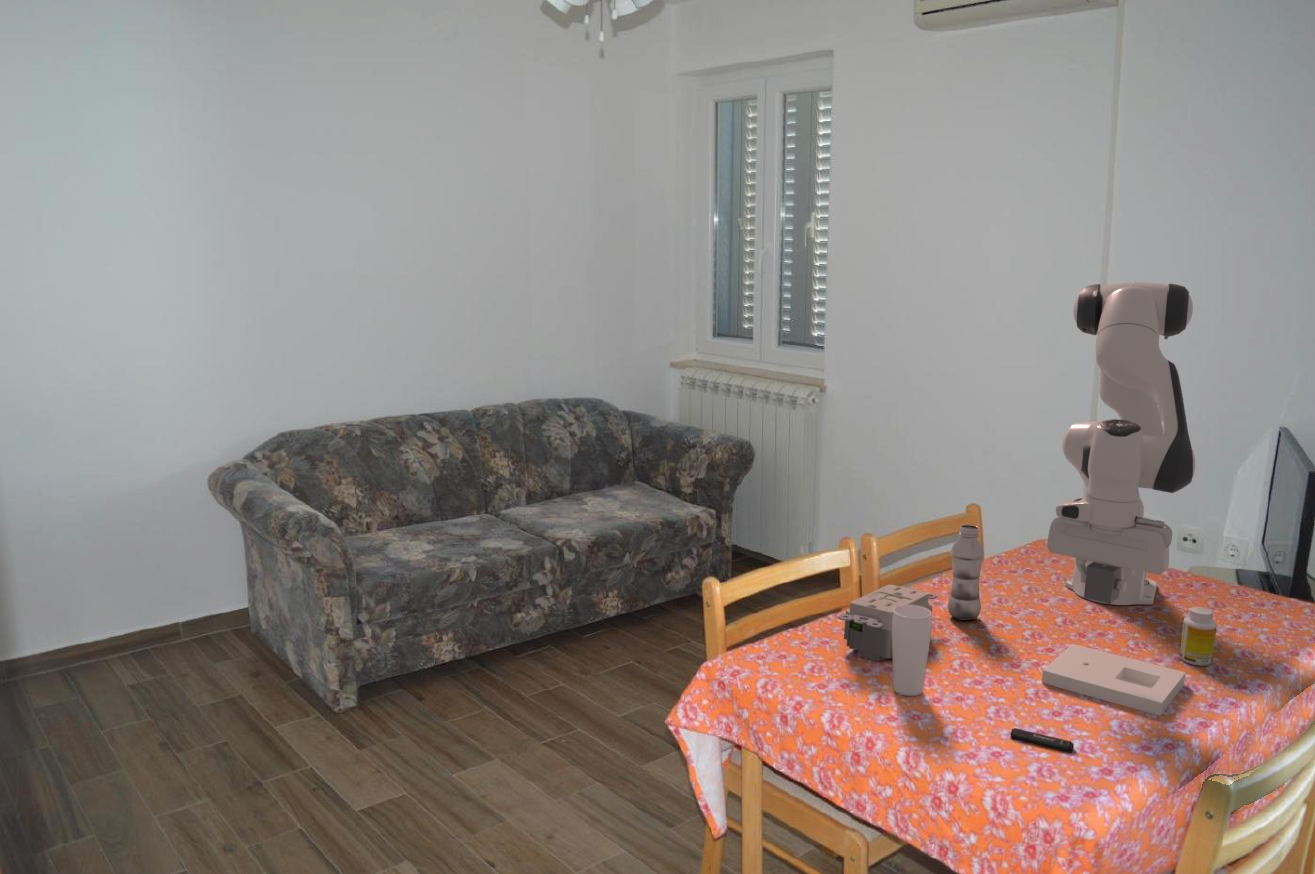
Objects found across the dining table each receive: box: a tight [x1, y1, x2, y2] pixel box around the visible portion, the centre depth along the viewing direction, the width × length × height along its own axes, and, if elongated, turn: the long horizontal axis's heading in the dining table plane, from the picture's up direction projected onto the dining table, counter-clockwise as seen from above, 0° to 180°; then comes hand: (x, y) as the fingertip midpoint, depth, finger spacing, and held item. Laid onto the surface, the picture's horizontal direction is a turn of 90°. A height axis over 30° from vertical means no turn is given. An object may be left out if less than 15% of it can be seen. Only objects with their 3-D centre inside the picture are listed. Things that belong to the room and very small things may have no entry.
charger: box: [1083, 562, 1122, 605], centre depth 183 cm, size 5×5×6 cm
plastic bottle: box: [947, 524, 985, 621], centre depth 214 cm, size 6×7×20 cm
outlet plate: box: [1041, 643, 1187, 717], centre depth 184 cm, size 16×20×2 cm
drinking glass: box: [891, 605, 933, 697], centre depth 180 cm, size 7×7×15 cm
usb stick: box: [1010, 727, 1075, 754], centre depth 163 cm, size 10×3×2 cm, turn 59°
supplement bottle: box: [1179, 606, 1217, 667], centre depth 194 cm, size 6×6×10 cm
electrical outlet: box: [837, 584, 939, 662], centre depth 201 cm, size 12×28×10 cm, turn 142°
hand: (1102, 586), depth 183 cm, fingers closed on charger, 5 cm apart
